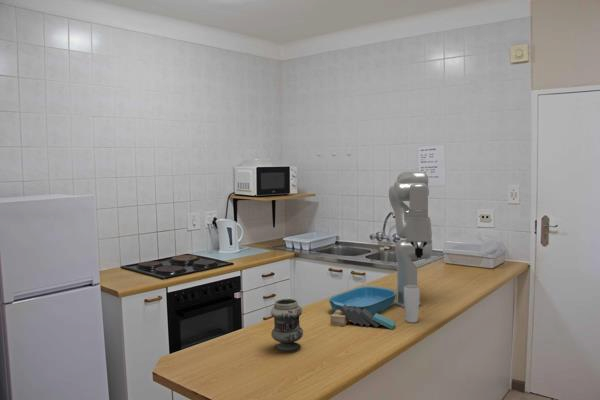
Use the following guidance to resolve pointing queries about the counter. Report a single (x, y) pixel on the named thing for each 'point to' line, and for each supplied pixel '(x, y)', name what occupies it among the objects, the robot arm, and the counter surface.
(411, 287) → the drinking glass
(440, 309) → the counter surface
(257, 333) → the counter surface
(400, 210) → the robot arm
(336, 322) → the oak block
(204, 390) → the counter surface
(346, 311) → the domino
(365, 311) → the domino
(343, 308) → the domino
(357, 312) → the domino
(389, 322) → the domino teal
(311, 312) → the counter surface
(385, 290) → the casserole dish
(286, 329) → the apothecary jar
